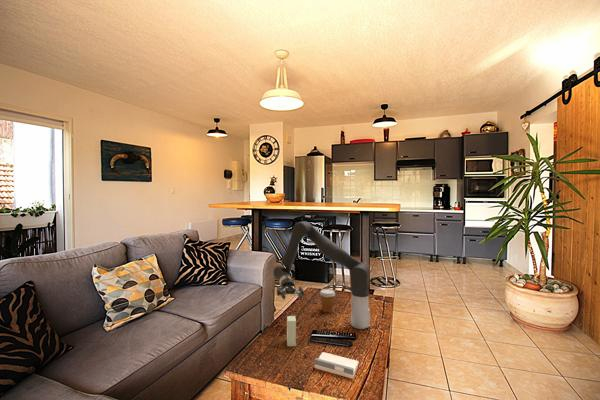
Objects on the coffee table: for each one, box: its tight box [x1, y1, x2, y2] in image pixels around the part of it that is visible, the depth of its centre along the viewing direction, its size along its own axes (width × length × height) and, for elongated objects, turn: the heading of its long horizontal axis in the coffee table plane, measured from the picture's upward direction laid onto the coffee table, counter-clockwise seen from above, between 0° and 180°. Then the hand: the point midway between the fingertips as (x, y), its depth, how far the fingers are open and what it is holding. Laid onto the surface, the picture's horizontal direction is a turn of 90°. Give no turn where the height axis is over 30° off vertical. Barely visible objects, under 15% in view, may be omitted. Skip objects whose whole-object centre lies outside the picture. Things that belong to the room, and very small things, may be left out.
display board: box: [314, 351, 359, 380], centre depth 116 cm, size 10×16×4 cm, turn 66°
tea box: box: [286, 315, 297, 347], centre depth 133 cm, size 4×6×12 cm
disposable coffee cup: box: [319, 288, 336, 313], centre depth 172 cm, size 10×10×12 cm
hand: (292, 297), depth 142 cm, fingers open, 8 cm apart
